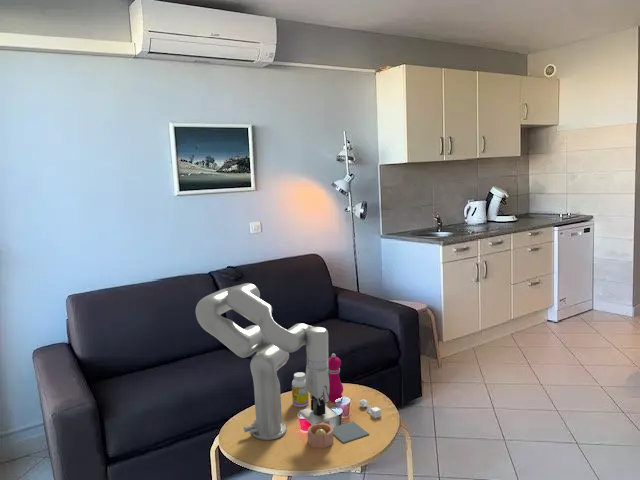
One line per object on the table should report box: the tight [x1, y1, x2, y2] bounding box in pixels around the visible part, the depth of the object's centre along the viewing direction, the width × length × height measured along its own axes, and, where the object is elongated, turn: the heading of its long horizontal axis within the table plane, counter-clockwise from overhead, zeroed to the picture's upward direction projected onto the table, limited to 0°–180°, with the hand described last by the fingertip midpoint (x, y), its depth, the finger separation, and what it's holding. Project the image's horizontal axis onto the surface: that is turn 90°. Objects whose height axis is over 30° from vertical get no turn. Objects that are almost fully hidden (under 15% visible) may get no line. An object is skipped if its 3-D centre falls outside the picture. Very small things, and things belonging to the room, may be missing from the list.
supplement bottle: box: [291, 371, 310, 408], centre depth 217 cm, size 7×7×13 cm
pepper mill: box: [327, 353, 344, 403], centre depth 220 cm, size 7×7×20 cm
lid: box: [298, 398, 338, 426], centre depth 187 cm, size 10×10×6 cm
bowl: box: [307, 422, 334, 449], centre depth 189 cm, size 9×9×4 cm
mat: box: [332, 420, 370, 444], centre depth 194 cm, size 11×11×1 cm
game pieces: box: [359, 398, 382, 419], centre depth 210 cm, size 12×3×3 cm, turn 27°
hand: (318, 411), depth 187 cm, fingers closed on lid, 3 cm apart
